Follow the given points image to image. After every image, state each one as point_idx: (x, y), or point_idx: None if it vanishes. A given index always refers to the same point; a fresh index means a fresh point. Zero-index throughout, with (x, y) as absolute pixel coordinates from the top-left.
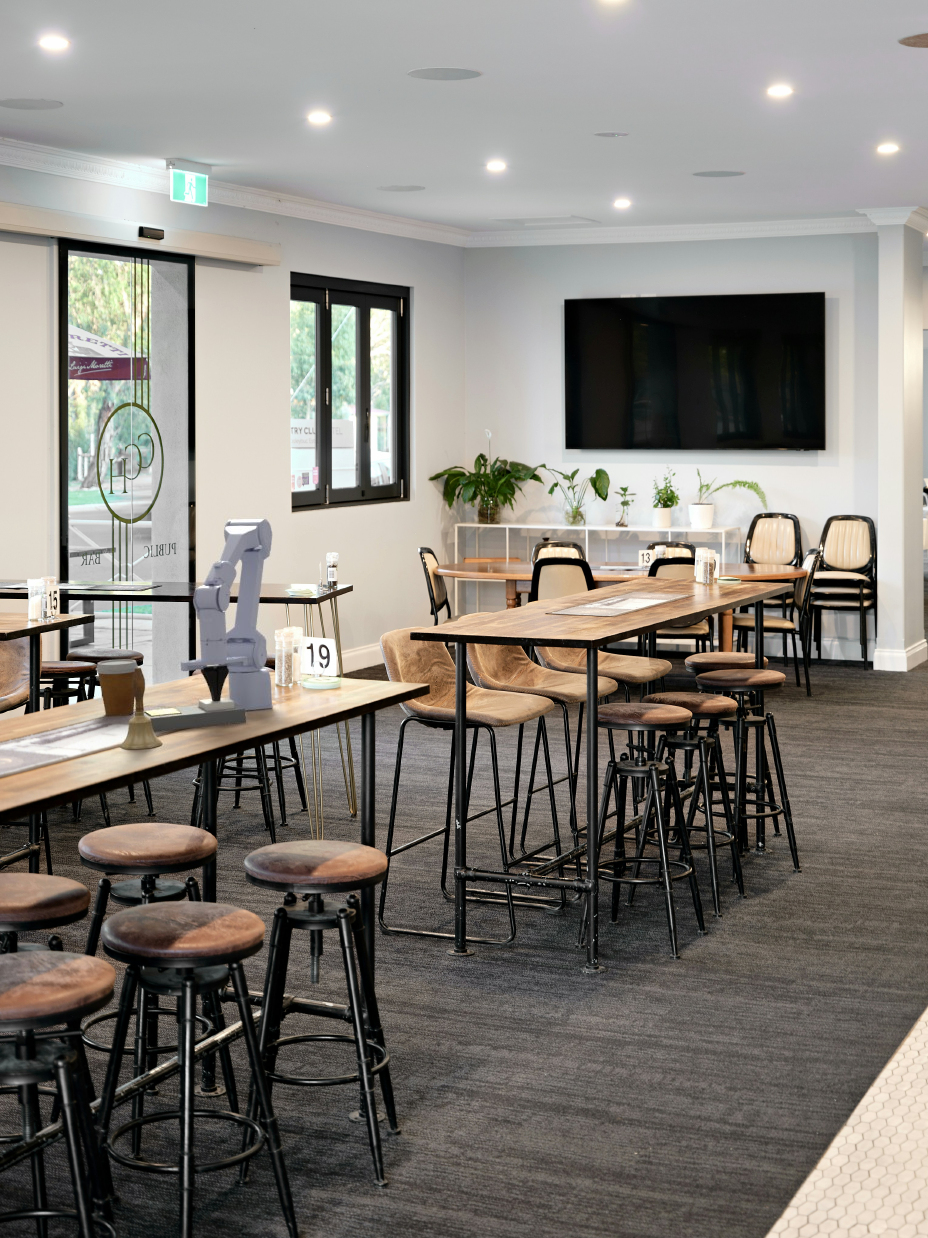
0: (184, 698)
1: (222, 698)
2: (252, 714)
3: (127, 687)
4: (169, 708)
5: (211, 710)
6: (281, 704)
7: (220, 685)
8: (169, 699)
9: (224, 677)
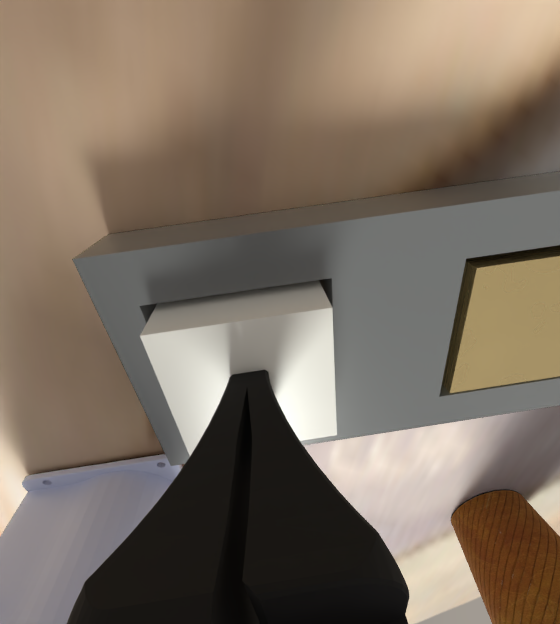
0: None
1: None
2: (98, 406)
3: (547, 591)
4: (453, 410)
5: (291, 292)
6: None
7: (216, 449)
8: None
9: (157, 524)
